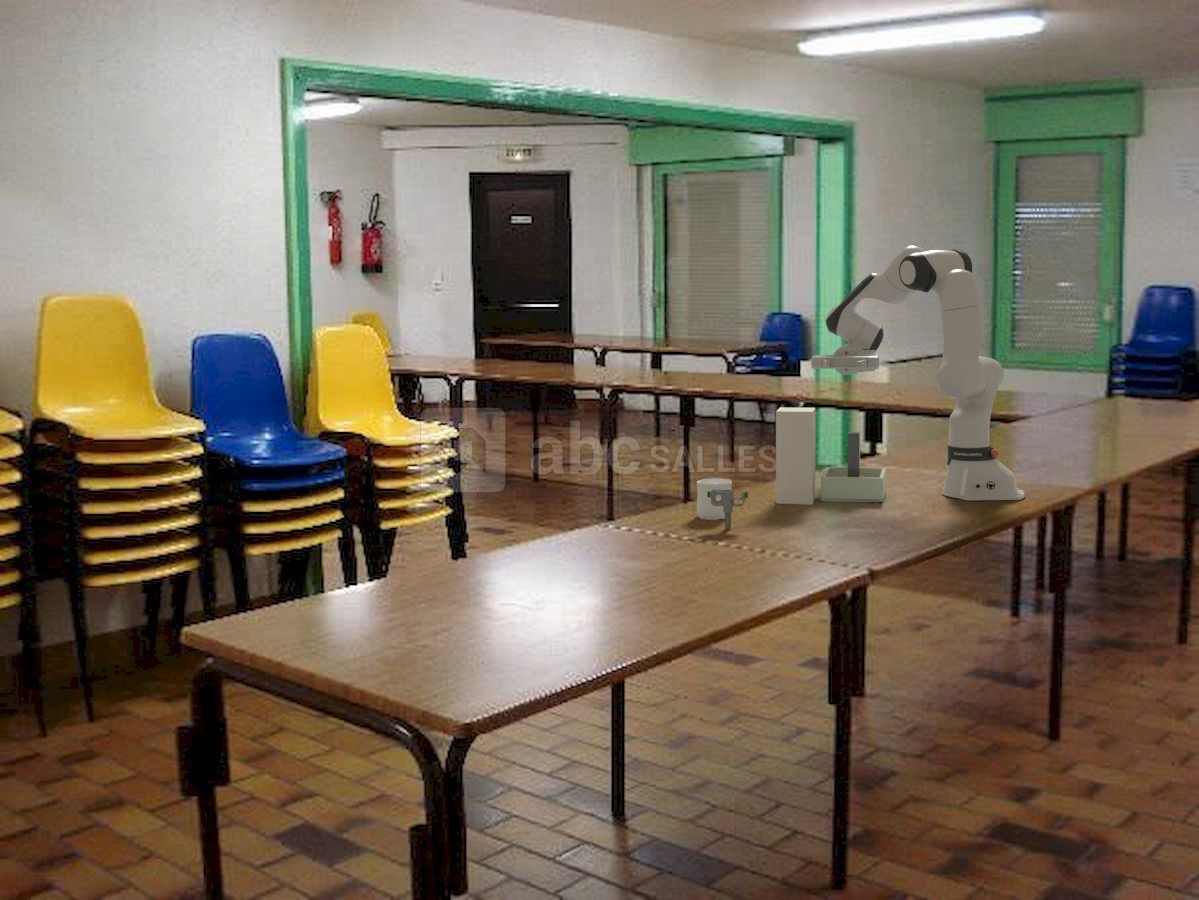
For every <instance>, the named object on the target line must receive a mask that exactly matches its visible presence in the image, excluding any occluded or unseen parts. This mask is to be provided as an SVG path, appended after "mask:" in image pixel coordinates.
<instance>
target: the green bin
mask: <svg viewBox="0 0 1199 900" xmlns="http://www.w3.org/2000/svg"><path fill="white" fill-rule="evenodd" d="M822 472H823V473H822V474H821V476H820V502H821V501H823V502H825V503H826V502H827V503H829V502H830V503H857V502H883V503H884V500H883V499H885V496H884V495H886V492H887V491H886V485H887V481H886V479H887V475H886V473H887V470H886V467H860V475H864V477H843V476H844V475H848V466H847V467H844V466H826V467H825V469H824V471H822ZM885 491H886V492H885ZM823 502H822V503H823Z"/></svg>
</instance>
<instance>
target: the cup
mask: <svg viewBox="0 0 1199 900" xmlns="http://www.w3.org/2000/svg"><path fill="white" fill-rule="evenodd" d="M732 484H733V481H732V479H728V478H722V477H721V478H720V477H709V478H703V479H699V480H697V481H696V490H697V496H696V497H697V499H696V501H697V502H696V513H697V516H698V518H700V519H701V520H708V521H720V520H719V519H722V520H725V512H723V506H713V505H712V504H711V498H710V497H707V492H708V491H711V490H732V486H733V485H732ZM716 498H717V499H721V496H720V495H717V496H716ZM732 515H733V512H731V516H732Z"/></svg>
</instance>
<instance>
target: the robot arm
mask: <svg viewBox="0 0 1199 900" xmlns="http://www.w3.org/2000/svg"><path fill="white" fill-rule="evenodd" d="M918 291H919V292H924V293H929V292H930V291H934V292H935V293H936V294H937V295H938V299H939V307H940V316H941V322H942V324H941V325H942V332H943V351H942V359H941V365H940V368H939V369H938V371H937V373H936V375H935V384H936V387H937V390H938V391H939V393H941V395H943V396H944V397H947V398H951V399H957V400H956V402H955V406H954V409H953V411H952V413H950V415H949V420H948V444H947V445H946V465H947V468H946V477H945V481H944V486H943V489H942V491H941V494H942V495H943V496H945V497H949V498H955V499H960V500H963V501H1019V500H1022V499H1024V498H1025V491H1024V490H1023V489H1020V488H1019V487H1018V483H1017V479H1016V476H1015V474H1014V472H1013V471H1012V470H1010V469H1009V468H1008V467H1007V466H1005V465H1004V464H1003V463H1001V462H1000V461H999V460H998V459H997V457H998V456H999V454H1000V453H999V450H998V449H997V448H995V447H994V446H992V445H990V426H991V425H990V424H991V416H992V411H993V407H994V402H995V399H996V395H997V391H998V389H999V388H1000V386H1001V384H1002V383H1003V381H1004V369H1003V366H1002V365H1001V364H1000V362H999V361H997V360H996V359H994V358H991V357H988V356H984V355H983V356H982V355H980V352H981V351H980V350H981V349H980V348H981V343H982V341H983V339H984V336H985V325H984V318H983V309H982V303H981V302H982V301H981V298H980V293H979V292H980V291H979V289H978V285H977V281H976V279H975V276H974V274H973V262H972V259H971V257H970V255H969V254H968V253H967V252H965V251H963V250H959V249H949V250H948V249H947V250H945V249H941V250H939V249H932V250H931V249H930V250H925V249H924V248H922V247H921V246H917V245H908V246H906V247H904V248H903V249H902V250H900V251H899V252H898V253H897V254H896V256H895V257H893V259H892V261H891V262H890V263H889V264H888V266H887V267H886V268H885V269H884V271H882V272H880V273H871V274H870V273H869V275H867V276H866V277H865V278H864V279H862V281H861V282H860V283H859V284H857V285H856V286H855V288H853V289H852V290H851V291H850V292H849V293H848V294H847V295H846V296H845V297H844V299H842V300H841V301H840V302H839V303H837V304H836V305H835V306H833V308H832V309H830V311H829V312H828V314H827V316H826V319H825V325H826V327H827V330H828V332H829V333H831V334H833V335H836V336H838V337H840V338H841V339H842V340H844V341H845V342H847V343H844V344H843V345H841V346H839V347H838V348H837V349H836V350H835V351H834V353H833V354H818V355H817V354H816V355H813V356H811V359H810V361H811V364H810V366H811V369H817V370H819V369H823V370H825V369H826V370H827V369H828V370H829V369H832V370H833V369H834V370H835V371H836V372H837V373H839V374H841V375H844V376H848V375H852V374H858V373H864V372H866V373H867V372H874V371H876V370H878V369H880V354H878V353H877V350H878V348H879V347H880V346H881V343H882V342H883V339H884V335H885V334H884V328H883V326H881V325H880V324H878V323H877V322H875V320H872V319H871V318H869V317H867V316H866V315H864V314H863V313H861V312H860V311H858V310H857V309H856V308H855V307H856V306H857V305H858V304H859V303H860V302H861V301H863V300H864V299H873V300H877V301H881V302H884V303H887V304H890V305H891V304H892V305H897V304H898V305H899V304H902V303H906V302H907V301H909V300H910V299H911V298H912V297H913V296H914V295H915V294H916V292H918Z"/></svg>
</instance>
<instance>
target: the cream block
mask: <svg viewBox="0 0 1199 900" xmlns="http://www.w3.org/2000/svg"><path fill="white" fill-rule="evenodd" d="M775 460H776V461H775V494H776V495H775V503H776V504H779V505H781V504H782V505H784V504H785V505H813V504H814V501H815V500H816V407H782V406H780V407H779V408H778V409H776V411H775Z"/></svg>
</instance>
